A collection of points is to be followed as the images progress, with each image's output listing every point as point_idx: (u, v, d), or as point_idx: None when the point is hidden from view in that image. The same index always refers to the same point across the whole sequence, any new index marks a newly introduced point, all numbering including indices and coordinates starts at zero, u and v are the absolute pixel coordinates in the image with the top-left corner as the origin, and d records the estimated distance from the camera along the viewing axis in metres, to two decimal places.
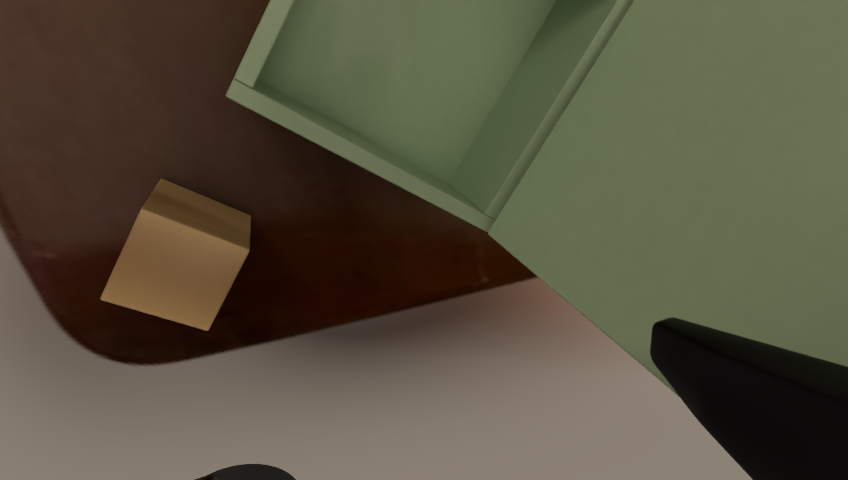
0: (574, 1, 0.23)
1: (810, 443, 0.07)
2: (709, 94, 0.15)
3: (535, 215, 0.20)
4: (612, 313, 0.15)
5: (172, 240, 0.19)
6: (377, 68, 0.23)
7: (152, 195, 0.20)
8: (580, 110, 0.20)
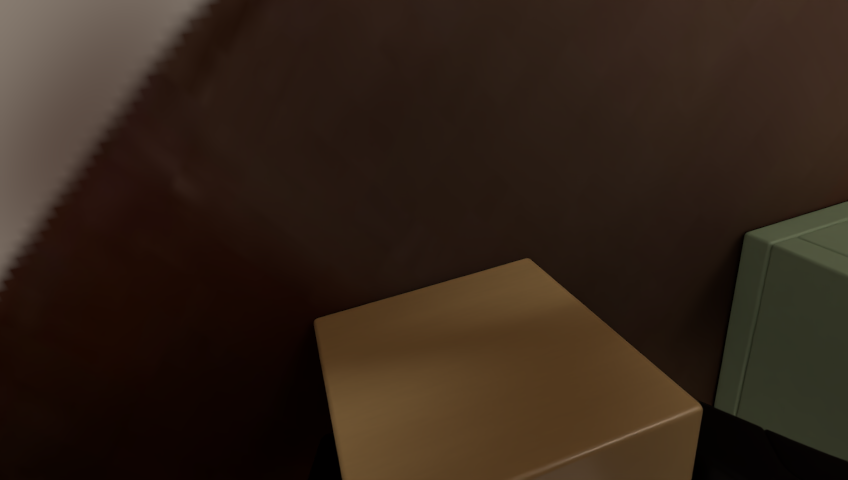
0: None
1: None
2: None
3: None
4: None
5: None
6: None
7: (614, 333, 0.07)
8: None
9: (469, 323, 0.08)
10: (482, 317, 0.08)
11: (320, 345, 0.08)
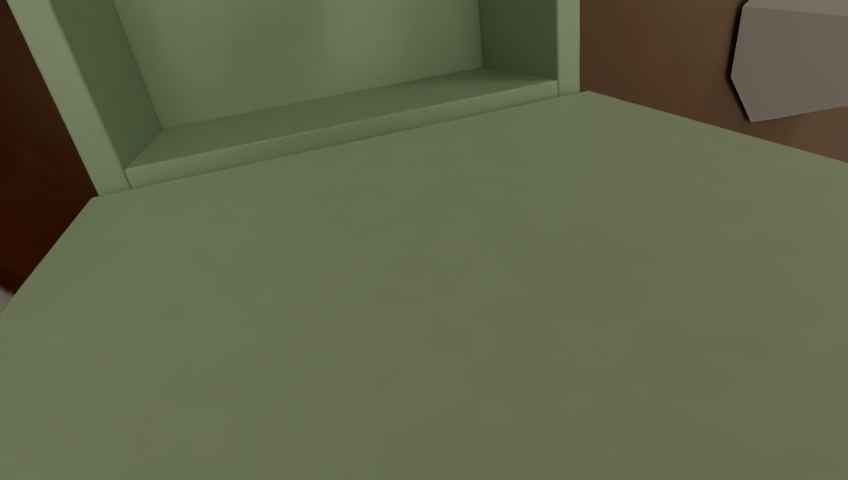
0: (492, 72, 0.16)
1: None
2: (579, 210, 0.07)
3: (168, 213, 0.09)
4: None
5: None
6: None
7: None
8: (389, 145, 0.11)
9: None
10: None
11: None
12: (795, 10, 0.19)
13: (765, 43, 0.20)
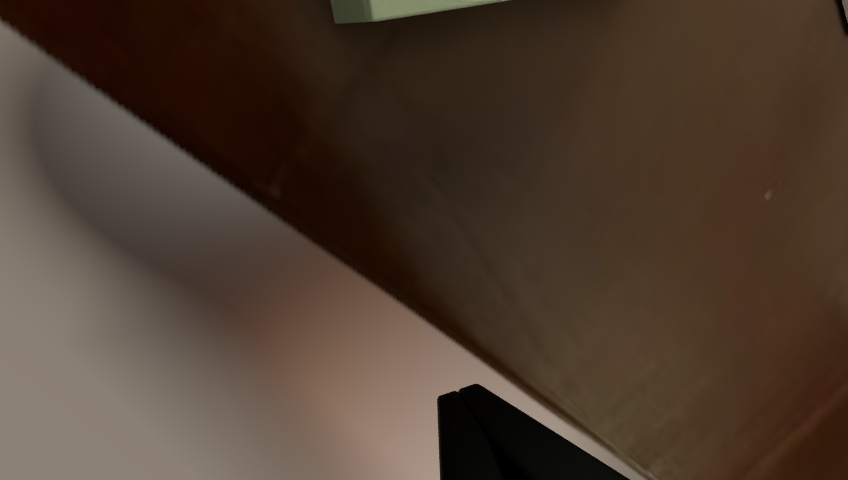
0: None
1: None
2: None
3: None
4: None
5: None
6: None
7: None
8: None
9: None
10: None
11: None
12: None
13: None
